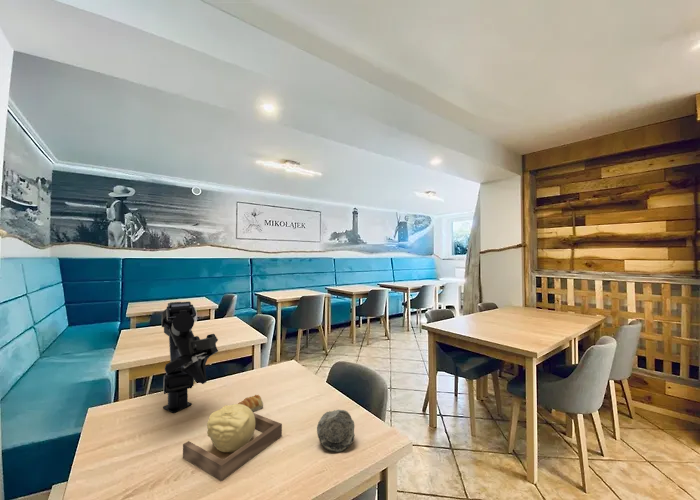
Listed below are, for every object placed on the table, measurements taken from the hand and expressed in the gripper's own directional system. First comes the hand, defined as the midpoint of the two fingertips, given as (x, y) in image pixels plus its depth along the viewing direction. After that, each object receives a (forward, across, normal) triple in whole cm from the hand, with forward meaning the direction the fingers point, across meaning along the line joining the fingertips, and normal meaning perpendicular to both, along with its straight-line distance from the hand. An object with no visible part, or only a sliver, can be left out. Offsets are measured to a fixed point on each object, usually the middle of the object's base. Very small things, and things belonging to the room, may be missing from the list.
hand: (204, 383), depth 94 cm
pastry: (+15, +11, -3) cm, 19 cm away
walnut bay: (+19, -9, -6) cm, 22 cm away
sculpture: (+19, -8, -6) cm, 21 cm away
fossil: (+34, -3, -30) cm, 45 cm away
